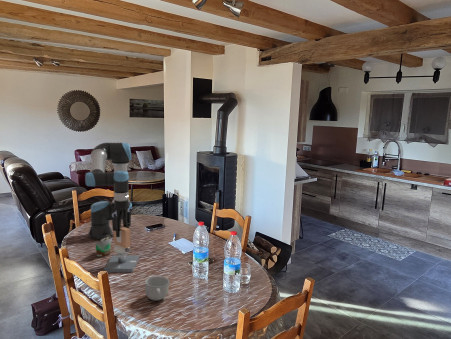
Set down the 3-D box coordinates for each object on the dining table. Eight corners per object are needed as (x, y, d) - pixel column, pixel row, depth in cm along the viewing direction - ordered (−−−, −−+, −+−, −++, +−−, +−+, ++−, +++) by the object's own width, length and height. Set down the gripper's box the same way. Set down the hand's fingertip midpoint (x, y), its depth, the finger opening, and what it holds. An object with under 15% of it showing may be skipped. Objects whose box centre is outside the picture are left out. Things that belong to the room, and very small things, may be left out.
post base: (112, 258, 185) (112, 244, 184) (138, 258, 186) (138, 245, 185) (103, 272, 168) (103, 257, 167) (132, 272, 169) (132, 257, 168)
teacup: (147, 290, 152) (147, 275, 150) (170, 290, 153) (170, 275, 151) (142, 307, 138) (142, 290, 137) (167, 307, 139) (167, 290, 138)
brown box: (109, 249, 176) (109, 227, 174) (122, 245, 182) (121, 223, 180) (122, 255, 169) (121, 231, 167) (134, 250, 176) (134, 228, 174)
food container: (104, 259, 183) (104, 243, 182) (95, 258, 185) (94, 241, 183) (116, 251, 195) (116, 235, 194) (107, 250, 196) (106, 234, 195)
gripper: (115, 203, 162) (115, 247, 166) (137, 197, 177) (137, 237, 181) (104, 201, 166) (105, 244, 169) (127, 195, 181) (127, 235, 184)
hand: (122, 240), depth 175 cm, fingers closed on brown box, 4 cm apart
